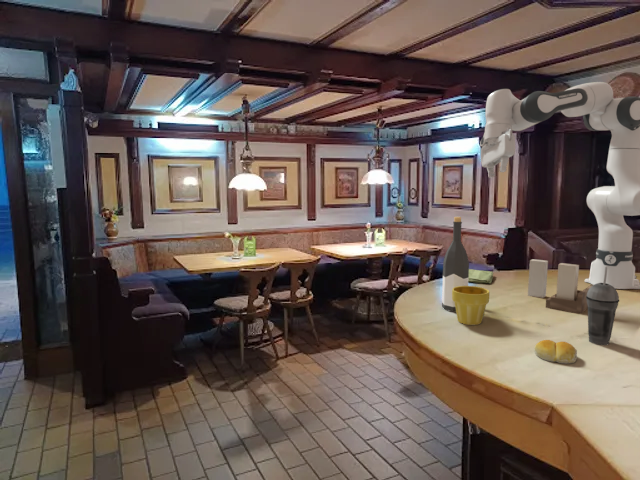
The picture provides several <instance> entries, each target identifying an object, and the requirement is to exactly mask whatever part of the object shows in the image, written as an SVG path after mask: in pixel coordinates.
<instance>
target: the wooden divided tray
mask: <svg viewBox="0 0 640 480" xmlns="http://www.w3.org/2000/svg"><path fill="white" fill-rule="evenodd" d="M592 286H593V284H590V285H589V286H588V287H585V288H584V289H583V290H580V289H579V290H578V289H577V300H576V301H574V300H568V299H562V298H556V294H557V293H554V294H553V295H552V296H550V297H547V298H546V299H545V308H546V309H553V310H557V311H558V310H559V311H565V312H569V313H574V314H580V315H581V314H583V313H584V312H585V311H586V310H588V305H587V298H586V296H587V292H588V290H589V289H590V287H592Z"/></svg>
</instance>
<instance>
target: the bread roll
mask: <svg viewBox="0 0 640 480" xmlns="http://www.w3.org/2000/svg"><path fill="white" fill-rule="evenodd" d="M534 354H535V355H536V356H537V357H539V358H540V359H542V360H544V361H546V362H551V363H554V362H557V363H558V364H566V365H568V364H569V365H570V364H575V362H577V355H578V350H577V349H576V347H574V346H573V345H572V344H571V343H569V342H566V341H558V342H555V341H553V340H551V339H543V340H540V341H539V342H537V343H536V344H535V345H534Z"/></svg>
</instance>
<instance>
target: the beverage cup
mask: <svg viewBox="0 0 640 480" xmlns="http://www.w3.org/2000/svg"><path fill="white" fill-rule="evenodd" d="M606 276H607V267H605V273H604V281H603V283H597V284H595V285H593V284H592V285H593V286H592V287H590V289H589V290H588V292H587V296H586V298H587V305H588V309H587V328H588V329H587V330H588V331H587V333H588V334H587V336H588V342H589V343H591V344H594V345H598V346H608V345H610V341H611V337H612V334H613V333H612V332H613V328H614V321H615V317H616V311H617V309H618V306H619V302H620V299H619V297H620V296H619V292H618V291H617V290H616V289H615V288H614V287H613V286H611V285H609V284H607V283H606Z"/></svg>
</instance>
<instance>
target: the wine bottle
mask: <svg viewBox="0 0 640 480" xmlns="http://www.w3.org/2000/svg"><path fill="white" fill-rule="evenodd" d="M462 223H463V222H462V217H461V216H454V217H453V222H452V224H453V230H452V231H453V232H452V241H451V243H450V245H449V246H448V248H447V250H446V252H445V255H444V258H443V262H442V290H441V291H442V292H441V293H442V294H441V307H442V309H443V308H444V309H445V311H448V310H450V311H449V312H456V307H455V302H454V301H453V300H452V289H453V288H454V287H458V286H469V282H468V278H469V269H470V261H469V256H468V254H467V251H466V248H465V246H464V245H463V241H462ZM444 309H443V310H444Z"/></svg>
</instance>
